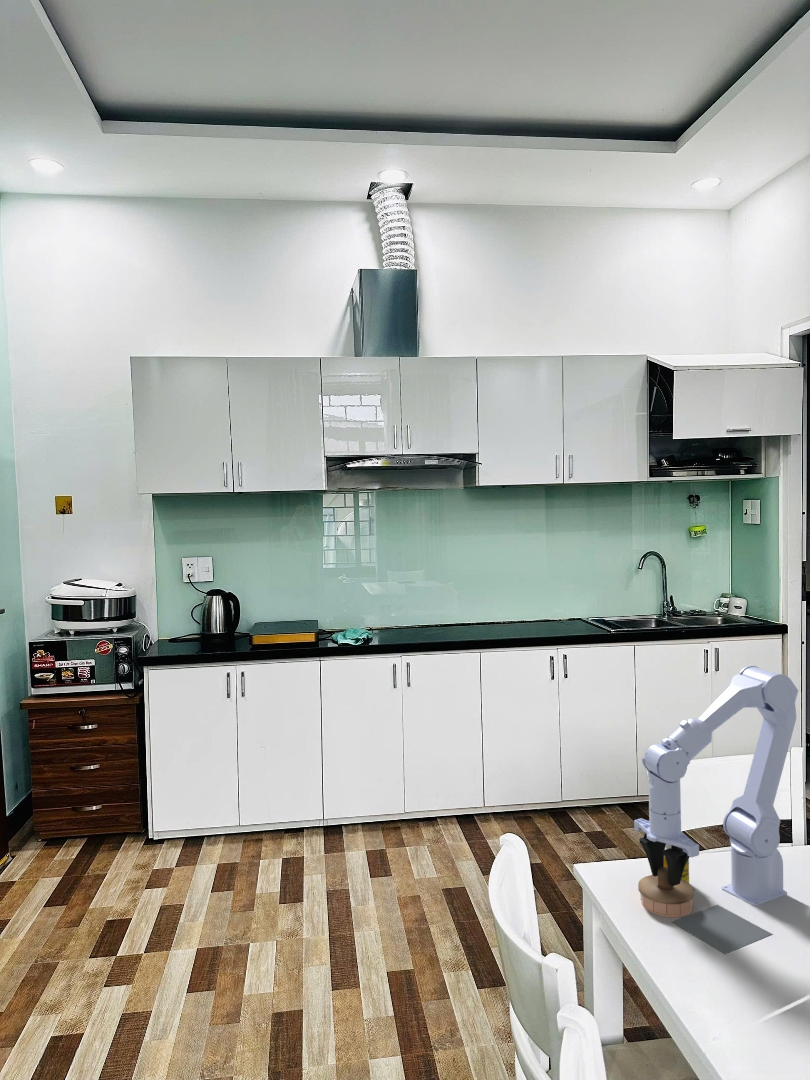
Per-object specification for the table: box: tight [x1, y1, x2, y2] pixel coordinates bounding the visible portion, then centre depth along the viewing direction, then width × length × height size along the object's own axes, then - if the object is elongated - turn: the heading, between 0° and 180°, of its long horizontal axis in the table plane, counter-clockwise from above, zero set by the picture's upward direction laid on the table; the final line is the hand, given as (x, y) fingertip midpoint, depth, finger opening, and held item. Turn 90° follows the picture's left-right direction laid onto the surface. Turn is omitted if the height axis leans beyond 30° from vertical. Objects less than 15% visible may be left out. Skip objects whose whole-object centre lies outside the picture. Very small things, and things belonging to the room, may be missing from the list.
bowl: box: [639, 892, 694, 918], centre depth 151 cm, size 9×9×3 cm
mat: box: [671, 904, 773, 955], centre depth 142 cm, size 12×12×1 cm
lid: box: [637, 867, 695, 904], centre depth 151 cm, size 10×10×4 cm
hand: (666, 879), depth 151 cm, fingers open, 4 cm apart
